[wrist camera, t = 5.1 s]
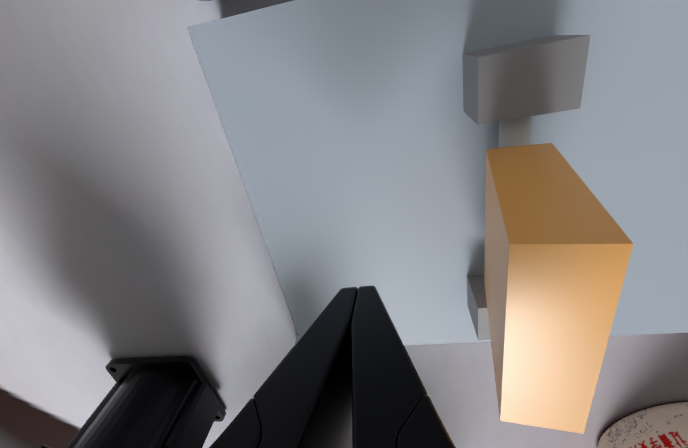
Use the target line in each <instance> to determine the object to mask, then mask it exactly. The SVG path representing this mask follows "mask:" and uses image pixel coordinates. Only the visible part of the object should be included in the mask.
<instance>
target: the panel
mask: <svg viewBox="0 0 688 448" xmlns="http://www.w3.org/2000/svg"><path fill="white" fill-rule="evenodd" d="M187 29H188V31H189V34H190V37H191V40H192V42H193V45H194V48H195V51H196V54H197V56H198V59H199V62H200V65H201V67H202V70H203V73H204V76H205V78H206V81H207V84H208V87H209V90H210V92H211V95H212V98H213V101H214V103H215V106H216V109H217V112H218V114H219V117H220V120H221V123H222V126H223V128H224V131H225V134H226V137H227V139H228V142H229V145H230V148H231V150H232V153H233V156H234V159H235V162H236V164H237V167H238V170H239V173H240V175H241V178H242V181H243V184H244V186H245V189H246V192H247V195H248V198H249V200H250V203H251V206H252V209H253V211H254V214H255V217H256V220H257V222H258V225H259V228H260V231H261V234H262V236H263V239H264V242H265V245H266V247H267V250H268V253H269V256H270V258H271V261H272V264H273V267H274V270H275V272H276V275H277V278H278V281H279V283H280V286H281V289H282V292H283V294H284V297H285V300H286V303H287V306H288V308H289V311H290V314H291V317H292V319H293V322H294V325H295V328H296V330H297V333H298V336H299V339H300V338H301V337H302V336H303V334H304V333H305V332H306V331H307V330H308V328H309V327H310V326H311V325H312V323H313V322H314V321H315V320H316V319H317V317H318V316H319V315H320V314H321V312H322V311H323V310H324V309H325V307H326V306H327V305H328V304H329V303H330V301H331V300H332V299H333V298H334V296H335V295H336V294H337V293H338V292H339V290H340V289H342V288H347V287H357V288H359V287H360V286H371V285H373V286H375V287H376V289H377V291H378V293H379V295H380V297H381V299H382V301H383V303H384V306H385V308H386V310H387V312H388V314H389V316H390V318H391V320H392V322H393V324H394V326H395V328H396V330H397V332H398V334H399V336H400V338H401V340H402V343H403V345H404V346H406V345H428V344H449V343H471V342H491V337H490V328H489V319H488V311H487V302H486V293H485V285H484V271H485V178H486V149H492V148H503V147H513V146H524V145H534V144H545V143H553V145H554V146H555V147H556V148H557V150H558V151H559V152H560V153H561V155H562V156H563V157H564V158H565V160H566V161H567V162H568V163H569V165H570V166H571V167H572V168H573V169H574V171H575V172H576V173H577V174H578V176H579V177H580V178H581V179H582V181H583V182H584V183H585V184H586V186H587V187H588V188H589V189H590V191H591V192H592V193H593V194H594V195H595V197H596V198H597V199H598V200H599V202H600V203H601V204H602V205H603V207H604V208H605V209H606V210H607V212H608V213H609V214H610V215H611V217H612V218H613V219H614V220H615V221H616V223H617V224H618V225H619V226H620V228H621V229H622V230H623V231H624V233H625V234H626V235H627V236H628V238H629V239H630V240H631V241H632V243H633V247H632V251H631V255H630V259H629V263H628V266H627V270H626V274H625V278H624V282H623V285H622V289H621V293H620V297H619V301H618V304H617V308H616V312H615V316H614V320H613V324H612V327H611V331H610V335H609V336H623V335H645V334H666V333H688V0H293V1H289V2H285V3H281V4H277V5H273V6H269V7H266V8H262V9H258V10H254V11H250V12H246V13H242V14H238V15H234V16H230V17H226V18H222V19H218V20H214V21H210V22H207V23H203V24H199V25H195V26H191V27H187Z"/></svg>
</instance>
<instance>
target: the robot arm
mask: <svg viewBox="0 0 688 448" xmlns="http://www.w3.org/2000/svg"><path fill="white" fill-rule="evenodd" d="M106 369H107V371H108V372H109V373H110V375H111V376H112V377H113V378H114V380H115V381H116V382H117V383H116V384H115V385H114V387H113V388H112V389H111V390H110V392H109V393H108V394H107V396H106V397H105V398H104V399H103V401H102V402H101V403H100V405H99V406H98V407H97V408H96V410H95V411H94V412H93V414H92V415H91V416H90V418H89V419H88V420H87V421H86V423H85V424H84V425H83V427H82V428H81V429H80V430H79V432H78V433H77V434H76V436H75V437H74V438H73V439H72V441H71V442H70V443H69V445H68V446H67V447H66V448H202V447H203V444H204V442H205V440H206V438H207V435H208V433H209V431H210V429H211V426H212V424H213V422H214V421H223V420H224V417H225V415H226V412H225V410H224V408H223V407H222V405H221V403H220V402H219V400H218V398H217V397H216V395H215V393H214V392H213V390H212V388H211V387H210V385H209V383H208V382H207V380H206V378H205V377H204V375H203V373H202V372H201V370H200V368H199V367H198V365H197V363H196V362H195V360H194V359H192V358H191V357H186V356H184V357H162V358H140V359H118V360H111V361H110V362H109V363H108V364H107V366H106ZM41 448H51V447H48V446H46V445H43V446H42V447H41ZM209 448H456V447H455V445H454V444H453V442H452V440H451V439H450V437H449V435H448V433H447V431H446V429H445V427H444V425H443V423H442V422H441V420H440V418H439V416H438V414H437V412H436V410H435V408H434V406H433V404H432V402H431V400H430V398H429V396H427V392H426V390H425V388H424V386H423V384H422V382H421V380H420V377H419V375H418V373H417V371H416V369H415V367H414V365H413V363H412V361H411V359H410V357H409V355H408V353H407V351H406V349H405V347H404V345H403V343H402V340H401V338H400V336H399V334H398V332H397V330H396V328H395V326H394V324H393V322H392V320H391V318H390V316H389V314H388V312H387V310H386V308H385V306H384V303H383V301H382V299H381V297H380V295H379V293H378V291H377V289H376V287H375V286H373V285H371V286H360V287H359V288H357V287H347V288H342V289H340V290H339V292H338V293H337V294H336V295H335V296H334V298H333V299H332V300H331V301H330V303H329V304H328V305H327V306H326V307H325V309H324V310H323V311H322V312H321V314H320V315H319V316H318V317H317V319H316V320H315V321H314V322H313V323H312V325H311V326H310V327H309V328H308V330H307V331H306V332H305V333H304V334H303V336H302V337H301V338H300V339H299V341H298V342H297V343H296V344H295V345H294V347H293V348H292V349H291V350H290V352H289V353H288V354H287V355H286V357H285V358H284V359H283V360H282V361H281V363H280V364H279V365H278V366H277V368H276V369H275V370H274V371H273V372H272V374H271V375H270V376H269V377H268V379H267V380H266V381H265V382H264V384H263V385H262V386H261V387H260V388H259V390H258V391H257V392H256V393H255V395H254V399H253V398H252V399H250V400H249V402H248V403H247V404H246V405H245V407H244V408H243V409H242V410H241V411H240V413H239V414H238V415H237V416H236V417H235V419H234V420H233V421H232V422H231V423H230V424H229V426H228V427H227V428H226V429H225V430H224V432H223V433H222V434H221V435H220V436H219V437H218V438H217V440H216V441H215V442H214V443H213V444H212V445H211V446H210V447H209Z"/></svg>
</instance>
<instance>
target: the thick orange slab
mask: <svg viewBox="0 0 688 448" xmlns="http://www.w3.org/2000/svg"><path fill="white" fill-rule="evenodd" d="M632 247H633V243H632V241H631V240H630V239H629V238H628V236H627V235H626V234H625V233H624V231H623V230H622V229H621V228H620V226H619V225H618V224H617V223H616V221H615V220H614V219H613V218H612V217H611V215H610V214H609V213H608V212H607V210H606V209H605V208H604V207H603V205H602V204H601V203H600V202H599V200H598V199H597V198H596V197H595V195H594V194H593V193H592V192H591V191H590V189H589V188H588V187H587V186H586V184H585V183H584V182H583V181H582V179H581V178H580V177H579V176H578V174H577V173H576V172H575V171H574V169H573V168H572V167H571V166H570V165H569V163H568V162H567V161H566V160H565V158H564V157H563V156H562V155H561V153H560V152H559V151H558V150H557V148H556V147H555V146H554V145H553V143H545V144H534V145H524V146H513V147H503V148H492V149H486V178H485V271H484V285H485V293H486V302H487V311H488V319H489V328H490V337H491V345H492V354H493V363H494V371H495V380H496V389H497V398H498V406H499V415H500V421H504V422H511V423H517V424H524V425H530V426H537V427H543V428H549V429H556V430H562V431H569V432H575V433H582V434H584V430H585V426H586V423H587V419H588V415H589V411H590V407H591V404H592V400H593V396H594V392H595V388H596V385H597V381H598V377H599V373H600V369H601V365H602V362H603V358H604V354H605V350H606V346H607V343H608V339H609V335H610V331H611V327H612V324H613V320H614V316H615V312H616V308H617V304H618V301H619V297H620V293H621V289H622V285H623V282H624V278H625V274H626V270H627V266H628V263H629V259H630V255H631V251H632Z"/></svg>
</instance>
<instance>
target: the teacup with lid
mask: <svg viewBox="0 0 688 448" xmlns="http://www.w3.org/2000/svg"><path fill="white" fill-rule="evenodd" d="M597 448H688V402H681V403H671V404H665V405H660V406H655V407H651V408H647V409H644V410H641V411H638V412H636V413H633V414H631V415H629V416H626V417H624V418H623V419H621V420H619V421H618V422H616V423H615V424H613V425H612V426H611V427H610V428H608V429H607V430H606V431H605V433H604V434H603V435H602V437H601V438H600V440H599V443H598V447H597Z"/></svg>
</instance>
